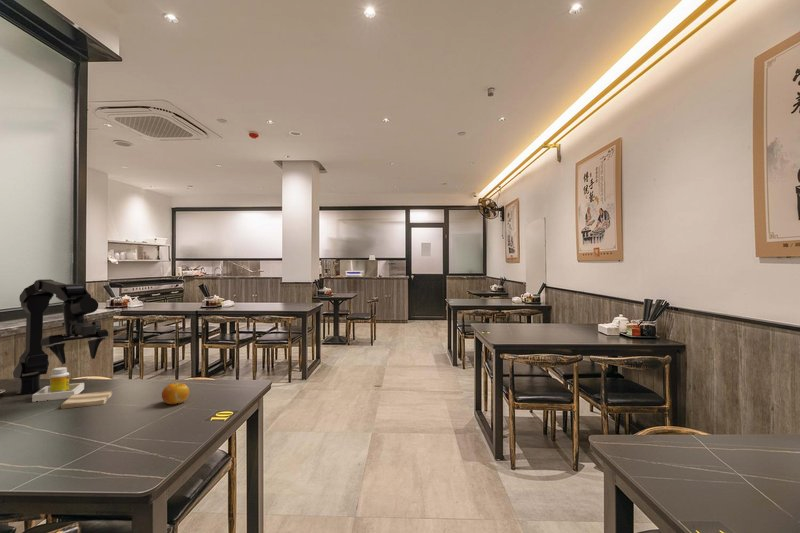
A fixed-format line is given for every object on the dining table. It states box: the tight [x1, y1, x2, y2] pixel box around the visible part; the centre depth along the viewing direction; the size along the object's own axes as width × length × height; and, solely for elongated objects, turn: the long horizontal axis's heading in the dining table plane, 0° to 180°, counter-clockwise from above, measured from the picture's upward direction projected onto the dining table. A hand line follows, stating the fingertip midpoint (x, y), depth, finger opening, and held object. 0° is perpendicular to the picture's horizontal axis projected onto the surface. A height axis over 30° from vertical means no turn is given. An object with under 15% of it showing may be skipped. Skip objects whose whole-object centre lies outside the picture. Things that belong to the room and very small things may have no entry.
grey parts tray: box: [31, 382, 85, 403], centre depth 149 cm, size 12×12×2 cm
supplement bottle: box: [49, 366, 70, 393], centre depth 150 cm, size 6×6×10 cm
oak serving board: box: [60, 390, 113, 410], centre depth 143 cm, size 12×12×2 cm
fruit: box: [161, 382, 190, 405], centre depth 142 cm, size 8×8×8 cm
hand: (79, 361), depth 140 cm, fingers open, 9 cm apart
